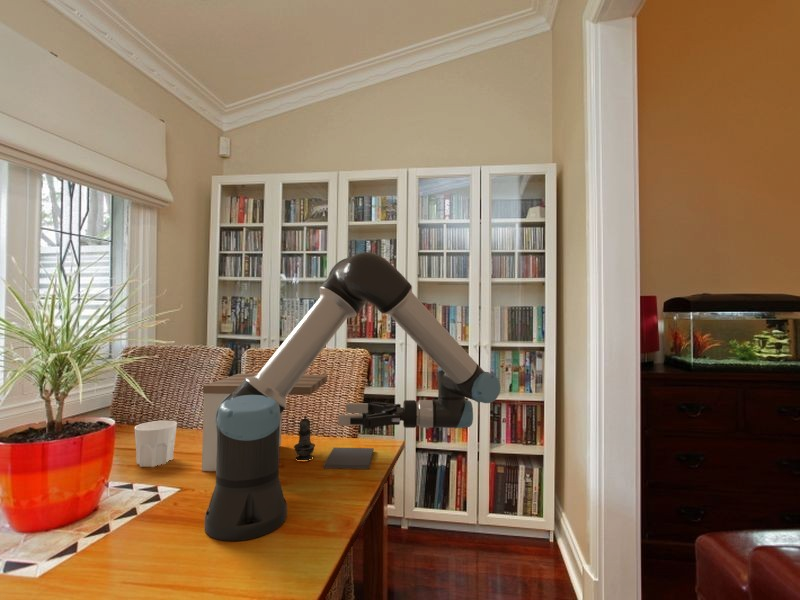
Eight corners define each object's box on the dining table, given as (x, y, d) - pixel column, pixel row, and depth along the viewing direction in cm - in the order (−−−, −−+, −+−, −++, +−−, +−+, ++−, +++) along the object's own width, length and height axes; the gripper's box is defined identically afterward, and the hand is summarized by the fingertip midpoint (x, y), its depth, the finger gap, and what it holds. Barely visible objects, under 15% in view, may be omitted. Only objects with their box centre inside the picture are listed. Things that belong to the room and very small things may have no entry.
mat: (368, 469, 108) (369, 465, 108) (323, 468, 109) (323, 464, 109) (373, 451, 122) (373, 448, 122) (333, 450, 123) (333, 447, 123)
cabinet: (308, 473, 105) (310, 387, 106) (200, 471, 105) (203, 385, 106) (326, 446, 127) (327, 374, 128) (236, 444, 127) (238, 373, 128)
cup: (129, 461, 112) (130, 424, 113) (169, 453, 119) (170, 418, 120) (138, 471, 105) (139, 432, 106) (180, 462, 112) (181, 425, 113)
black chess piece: (304, 453, 120) (304, 412, 120) (319, 457, 117) (320, 415, 117) (289, 459, 115) (290, 416, 115) (304, 463, 112) (305, 419, 112)
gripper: (418, 441, 103) (334, 440, 104) (416, 416, 128) (349, 416, 129) (418, 411, 104) (334, 410, 104) (416, 392, 129) (349, 391, 129)
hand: (342, 413), depth 117 cm, fingers open, 13 cm apart
